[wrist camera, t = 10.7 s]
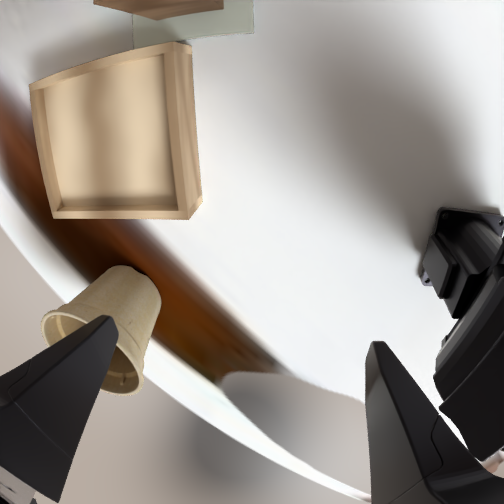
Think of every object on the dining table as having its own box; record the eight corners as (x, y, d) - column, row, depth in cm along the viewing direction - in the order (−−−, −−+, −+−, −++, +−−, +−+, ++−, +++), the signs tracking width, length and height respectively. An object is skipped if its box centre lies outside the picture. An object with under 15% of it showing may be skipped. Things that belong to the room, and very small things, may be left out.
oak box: (191, 46, 16) (173, 41, 14) (202, 202, 22) (188, 219, 19) (54, 80, 18) (29, 84, 16) (74, 203, 24) (53, 218, 21)
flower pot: (200, 306, 27) (166, 384, 20) (142, 340, 31) (109, 403, 24) (123, 229, 24) (61, 291, 17) (78, 279, 28) (30, 335, 21)
